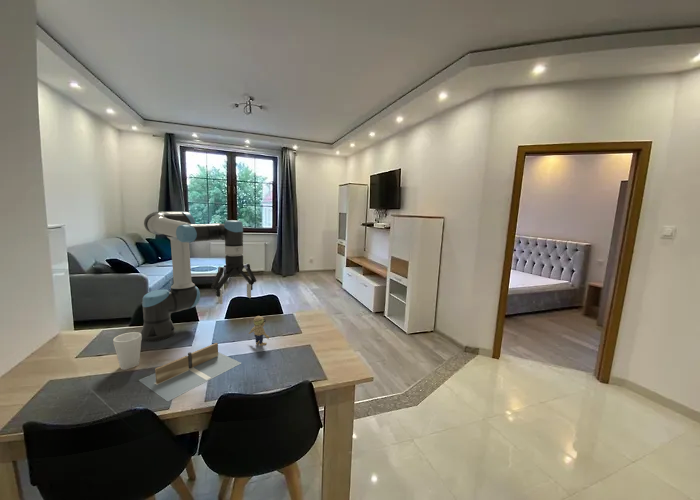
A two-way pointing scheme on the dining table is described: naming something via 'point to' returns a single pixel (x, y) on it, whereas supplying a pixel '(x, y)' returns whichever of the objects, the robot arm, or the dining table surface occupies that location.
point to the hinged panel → (202, 355)
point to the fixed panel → (171, 369)
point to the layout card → (190, 377)
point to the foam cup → (128, 349)
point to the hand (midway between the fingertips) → (235, 300)
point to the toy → (259, 330)
